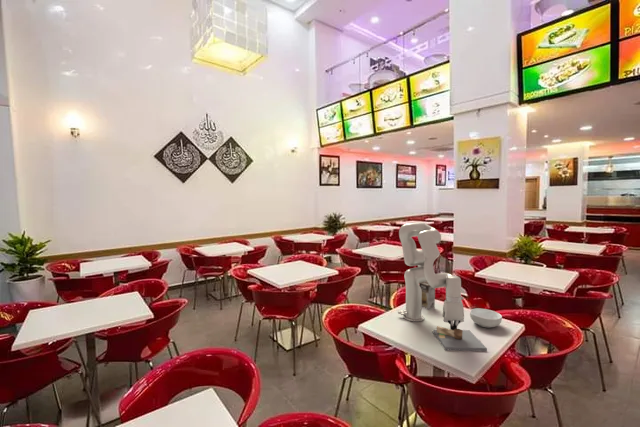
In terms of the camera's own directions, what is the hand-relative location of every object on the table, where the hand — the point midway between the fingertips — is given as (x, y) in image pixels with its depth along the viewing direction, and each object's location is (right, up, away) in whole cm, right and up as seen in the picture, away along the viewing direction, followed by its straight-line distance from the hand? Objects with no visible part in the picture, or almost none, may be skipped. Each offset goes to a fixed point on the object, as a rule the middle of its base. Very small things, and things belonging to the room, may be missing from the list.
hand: (453, 332), depth 165 cm
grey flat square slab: (+1, -3, -4) cm, 5 cm away
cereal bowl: (+26, -2, +16) cm, 30 cm away
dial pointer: (-3, -1, -1) cm, 3 cm away
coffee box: (+2, 0, +46) cm, 46 cm away
